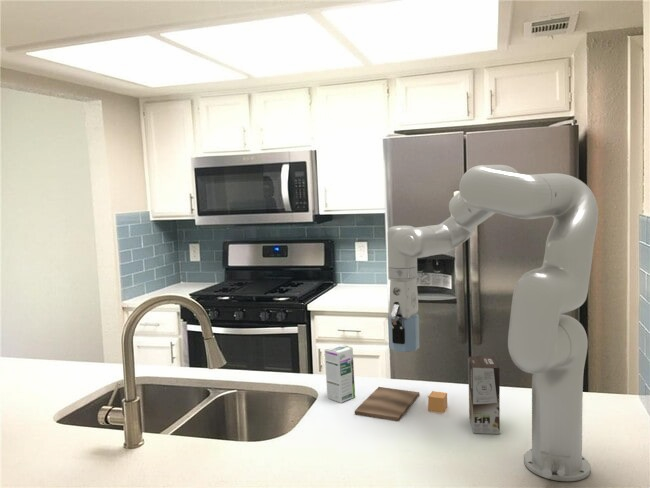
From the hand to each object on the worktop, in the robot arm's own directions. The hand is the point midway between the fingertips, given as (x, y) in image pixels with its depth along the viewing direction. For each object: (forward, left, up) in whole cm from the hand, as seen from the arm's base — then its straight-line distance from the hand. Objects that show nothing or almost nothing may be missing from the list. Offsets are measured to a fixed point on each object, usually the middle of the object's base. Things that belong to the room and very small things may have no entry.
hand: (403, 338), depth 145 cm
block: (+1, -9, -19) cm, 20 cm away
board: (-1, +5, -18) cm, 19 cm away
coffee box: (-5, -21, -19) cm, 29 cm away
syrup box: (-1, +19, -19) cm, 26 cm away
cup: (0, 0, -2) cm, 2 cm away
